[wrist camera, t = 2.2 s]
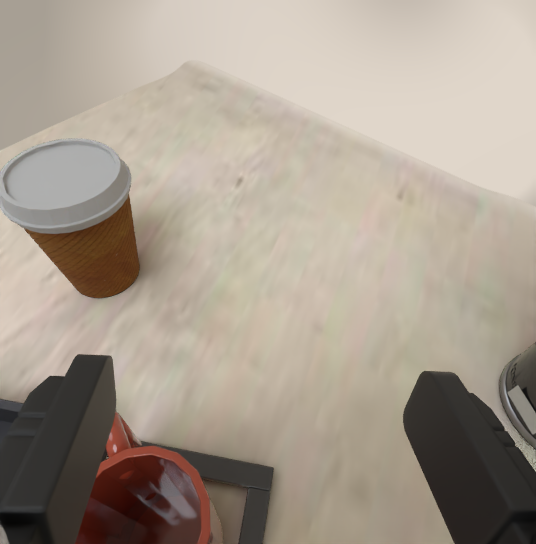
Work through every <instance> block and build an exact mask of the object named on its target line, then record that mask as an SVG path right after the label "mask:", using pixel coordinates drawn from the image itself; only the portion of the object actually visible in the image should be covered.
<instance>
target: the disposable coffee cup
mask: <svg viewBox="0 0 536 544" xmlns="http://www.w3.org/2000/svg"><path fill="white" fill-rule="evenodd" d="M130 187H131V173H130V170H129V168H128V166H127V165H126V164H125V162H124V161H122V160H121V159H120V158H119V156H118V154H117V153H116V152H115V151H114V150H113V149H112V148H110V147H109V146H107V145H105V144H103V143H100V142H97V141H94V140H88V139H60V140H54V141H50V142H46V143H42V144H39V145H36V146H33V147H31V148H29V149H27V150H25V151H23V152H21V153H20V154H18V155H17V156H15V157H14V158H13V159H11V160H10V161H8V163H7V164H6V165H5V166H4V167H3V168H2V170H1V171H0V209H1V210H2V212H3V213H4V214H5V215H6V216H7V217H8V218H9V219H10V220H11V221H13V222H15V223H17V224H18V225H20V226H21V227H23V228H24V229H25V231H26V232H27V233H28V234H30V236H31V237H32V239H34V241H35V242H36V243H37V244H39V247H40V248H41V249H43V251H44V252H45V253H46V255H47V256H48V257H49V258H50V259H51V260H52V262H54V264H55V265H56V266H57V267H58V268H59V270H60V271H61V272H62V273H63V274H64V275H65V276H66V278H68V280H69V281H70V282H71V283H72V284H73V286H74V287H75V288H76V289H77V290H78V291H79V292H80V293H81V294H83V295H86V296H88V297H94V298H103V297H109V296H113V295H116V294H118V293H120V292H122V291H124V290H125V289H127V288H128V287H129V286H130V285H131V284H132V283H133V282H134V281H135V279H136V278H137V276H138V273H139V261H138V254H137V246H136V239H135V232H134V226H133V218H132V211H131V204H130V198H129V191H130Z"/></svg>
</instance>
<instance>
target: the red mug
mask: <svg viewBox="0 0 536 544" xmlns="http://www.w3.org/2000/svg"><path fill="white" fill-rule="evenodd" d="M105 448H106V451H107V454H108V457H109V458H108V459H107V460H105V461H103V462H101V463H100V466H99V469H98V472H97V476H96V479H95V482H94V485H93V488H92V491H91V494H90V498H89V501H88V504H87V507H86V510H85V513H84V516H83V520H82V523H81V526H80V529H79V532H78V535H77V538H76V542H75V544H223V533H222V525H221V522H220V520H219V518H218V515H217V513H216V511H215V508H214V506H213V504H212V501H211V499H210V497H209V495H208V492H207V490H206V488H205V486H204V484H203V481H202V479H201V477H200V475H199V472H198V471H197V470H196V469H195V468H194V467H193V466H192V465H191V464H190V463H189V462H188V461H186V460H185V459H184V458H183V457H182V456H181V455H180V454H178V453H177V452H173V451H170V450H167V449H163V448H160V447H157V446H146V447H143V445H142V444H141V442H140V441H139V440H138V438H137V437H136V436H135V434H134V433H133V432H132V430H131V429H130V428H129V427H128V425H127V424H126V423H125V421H124V420H123V419H122V417H121V416H120V415H119V413H118V412H116V411H115V417H114V422H113V425H112V429H111V432H110V435H109V438H108V441H107V444H106V447H105Z"/></svg>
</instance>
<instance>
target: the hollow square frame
mask: <svg viewBox="0 0 536 544" xmlns="http://www.w3.org/2000/svg"><path fill="white" fill-rule="evenodd" d="M140 442H141V444H142V445H143V447H146V446H157V447H160V448H163V449H167V450H170V451H173V452H177V453H178V454H180V455H181V456H182V457H183V458H184V459H185V460H186V461H188V462H189V463H190V464H191V465H192V466H193V467H194V468H195V469H196V470H197V471H198V472H199V475H200V477H201V479H205V480H210V481H215V482H220V483H225V484H230V485H235V486H240V487H245V488H248V493H247V499H246V505H245V510H244V516H243V521H242V527H241V532H240V538H239V543H238V544H263V538H264V531H265V524H266V518H267V511H268V504H269V497H270V490H271V484H272V477H273V470H274V468H273V467H268V466H263V465H258V464H253V463H248V462H243V461H238V460H233V459H228V458H223V457H218V456H213V455H208V454H203V453H198V452H193V451H188V450H183V449H177V448H172V447H167V446H162V445H157V444H152V443H147V442H142V441H140Z"/></svg>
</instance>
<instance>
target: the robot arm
mask: <svg viewBox="0 0 536 544" xmlns="http://www.w3.org/2000/svg"><path fill="white" fill-rule="evenodd" d="M500 395H501V400H502V403H503V406H504V409H505V411H506V413H507V415H508V417H509V419H510V420H511V422H512V423H513V425H514V426H515V428H516V429H517V430H518V432H519V433H520V434H521V435H522V436H523V437H524V438H525V439H526V440H527V441H528V442H529V443H530V444H531V445H532V446H533V447H534V448H535V449H536V342H535V343H534V344H533V345H532V346H530V347H529V348H528V349H527V350H526V351H525V352H523V353H522V354H520V355H518V356H517V357H515V358H514V359H513V360H512V361H510V362H509V363H508V364H507V365H506V367H505V368H504V370H503V372H502V375H501V378H500ZM115 410H116V391H115V380H114V369H113V360H112V357H111V356H105V355H83V354H78V355H77V356H76V357H75V358H74V360H73V362H72V364H71V366H70V368H69V370H68V372H67V373H66V375H65V377H64V376H49V377H48V378H47V379H46V380H45V381H44V382H42V383H41V384H40V385H39V386H38V387H37V388H35V389H34V390H33V391H32V392H31V393H30V394H29V396H28V398H27V399H26V401H25V403H24V404H23V406H22V408H21V410H20V411H19V413H18V417H17V418H15V420H14V421H13V423H12V425H11V427H10V428H9V430H8V434H7V436H5V437H4V439H3V440H2V442H1V444H0V544H75V542H76V538H77V535H78V532H79V529H80V526H81V523H82V520H83V516H84V513H85V510H86V507H87V504H88V501H89V498H90V494H91V491H92V488H93V485H94V482H95V479H96V476H97V472H98V469H99V466H100V463H101V460H102V457H103V454H104V451H105V447H106V444H107V441H108V438H109V435H110V432H111V429H112V425H113V422H114V417H115ZM403 423H404V429H405V432H406V435H407V437H408V439H409V441H410V444H411V446H412V448H413V450H414V453H415V455H416V457H417V460H418V462H419V464H420V466H421V469H422V471H423V473H424V475H425V478H426V480H427V482H428V484H429V487H430V489H431V491H432V494H433V496H434V498H435V500H436V503H437V505H438V507H439V509H440V512H441V514H442V516H443V518H444V521H445V523H446V525H447V528H448V530H449V532H450V534H451V537H452V539H453V541H454V543H455V544H536V472H535V470H534V469H533V468H532V466H531V465H530V463H529V462H528V461H527V459H526V458H525V456H524V455H523V453H522V452H521V451H520V449H519V448H518V447H516V446H515V442H514V441H513V439H512V438H511V436H510V435H509V434H508V432H507V431H505V430H504V426H503V425H502V424H501V422H500V421H499V419H498V418H497V416H496V415H495V414H494V412H493V411H492V409H491V408H489V407H488V406H487V405H486V404H485V403H484V402H483V401H481V400H480V399H479V398H478V397H477V396H476V395H475V394H474V393H469V392H468V391H467V389H466V388H465V386H464V385H463V383H462V382H461V380H460V379H459V377H458V376H457V375H456V374H454V373H452V372H435V371H424V372H422V373H421V374H420V376H419V378H418V380H417V382H416V385H415V387H414V389H413V391H412V393H411V396H410V398H409V400H408V402H407V404H406V407H405V409H404V414H403Z"/></svg>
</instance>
